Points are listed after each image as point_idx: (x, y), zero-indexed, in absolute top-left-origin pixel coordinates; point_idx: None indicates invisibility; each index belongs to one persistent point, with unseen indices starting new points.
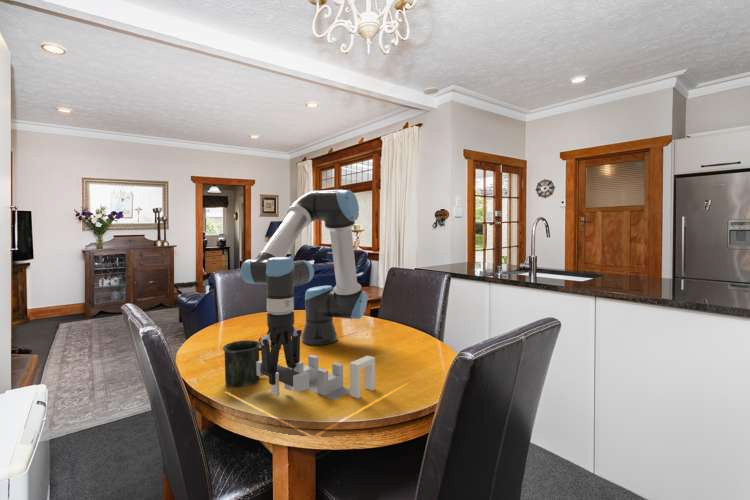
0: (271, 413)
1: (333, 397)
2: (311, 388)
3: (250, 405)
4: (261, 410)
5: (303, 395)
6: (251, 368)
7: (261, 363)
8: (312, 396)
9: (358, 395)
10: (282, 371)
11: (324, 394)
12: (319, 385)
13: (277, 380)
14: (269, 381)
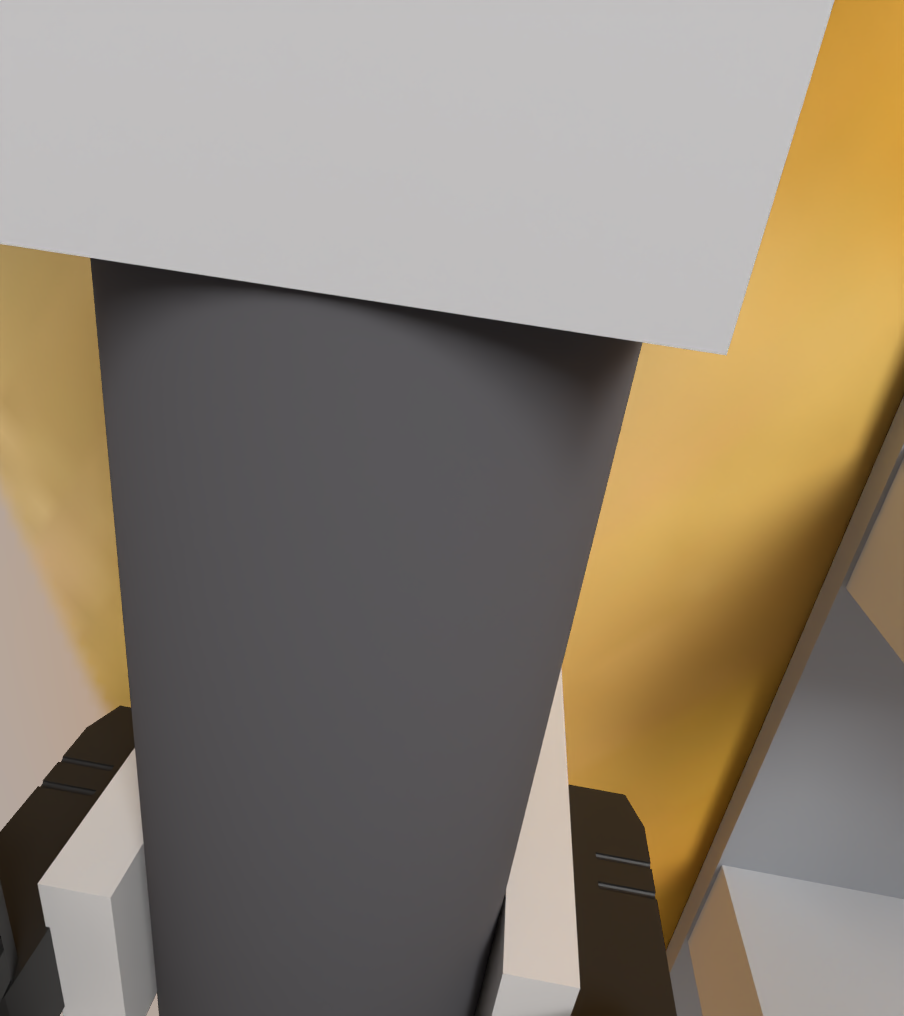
0: (129, 693)
1: (691, 1010)
2: (815, 762)
3: (54, 365)
4: (89, 571)
5: (635, 732)
6: None
7: (33, 248)
8: (659, 818)
9: None
10: None
11: (692, 956)
12: (737, 997)
13: None
14: (72, 758)
